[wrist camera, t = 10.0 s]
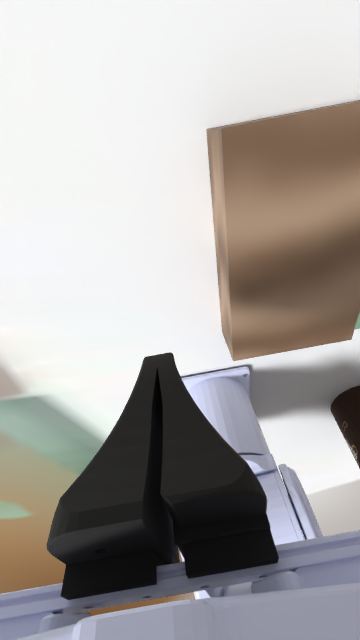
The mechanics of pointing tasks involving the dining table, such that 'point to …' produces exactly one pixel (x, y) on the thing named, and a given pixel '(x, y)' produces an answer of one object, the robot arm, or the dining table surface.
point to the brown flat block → (287, 229)
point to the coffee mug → (349, 418)
